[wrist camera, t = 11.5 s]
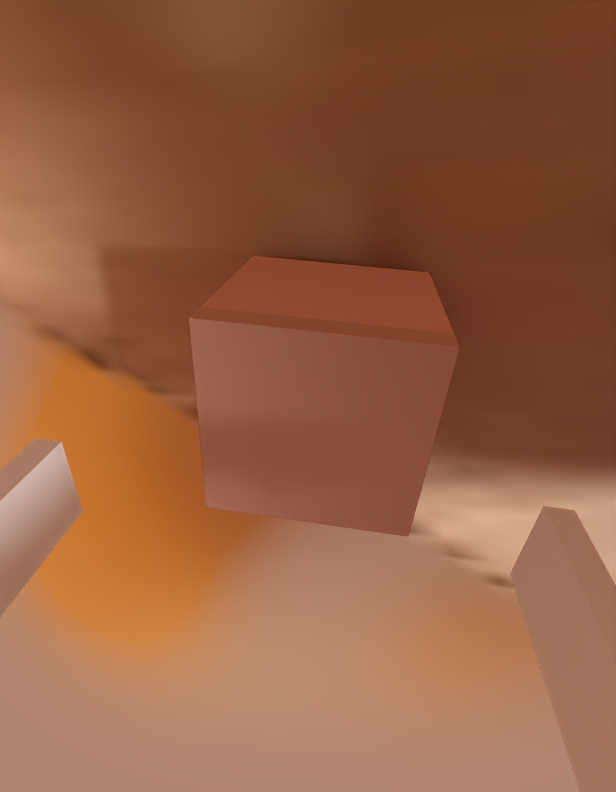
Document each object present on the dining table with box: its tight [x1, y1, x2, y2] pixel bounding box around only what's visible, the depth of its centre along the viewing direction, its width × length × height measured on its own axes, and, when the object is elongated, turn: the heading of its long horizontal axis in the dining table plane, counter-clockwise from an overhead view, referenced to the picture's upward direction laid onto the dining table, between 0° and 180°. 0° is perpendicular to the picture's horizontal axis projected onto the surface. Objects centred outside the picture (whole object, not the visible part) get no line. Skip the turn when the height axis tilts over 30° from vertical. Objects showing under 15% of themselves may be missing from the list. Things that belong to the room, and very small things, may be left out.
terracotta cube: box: [189, 256, 460, 537], centre depth 18 cm, size 8×8×8 cm
